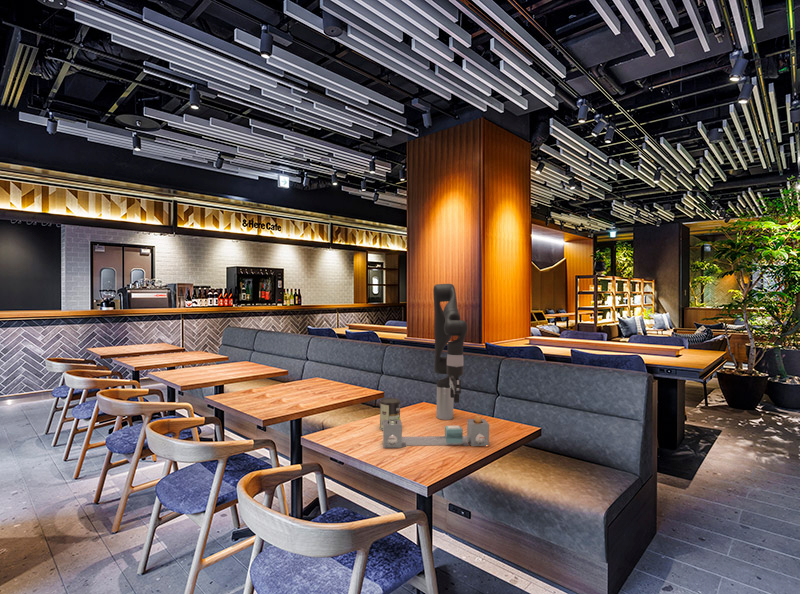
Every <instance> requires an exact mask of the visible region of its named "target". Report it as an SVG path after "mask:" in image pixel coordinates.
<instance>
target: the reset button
mask: <svg viewBox="0 0 800 594" xmlns="http://www.w3.org/2000/svg"><path fill="white" fill-rule="evenodd" d="M474 419H475V423H481V419H482V416H481V415H480V414H477V415H474Z"/></svg>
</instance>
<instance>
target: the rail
mask: <svg viewBox="0 0 800 594" xmlns="http://www.w3.org/2000/svg"><path fill="white" fill-rule="evenodd" d="M407 446H409V447H412V446H415V447H417V446H419V447H420V446H463V447H469V443H468V438H467V435H463V443H447V438H446V436H445V435H441V436H440V435H438V436H436V435H435V436H426V435H424V436H402V448H406V447H407Z"/></svg>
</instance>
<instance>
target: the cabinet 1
mask: <svg viewBox="0 0 800 594" xmlns="http://www.w3.org/2000/svg"><path fill="white" fill-rule="evenodd" d="M402 437H403V424H402V421H401V419H400V420H383V430H382V445H383V449H401V448H403V447H402Z"/></svg>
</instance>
